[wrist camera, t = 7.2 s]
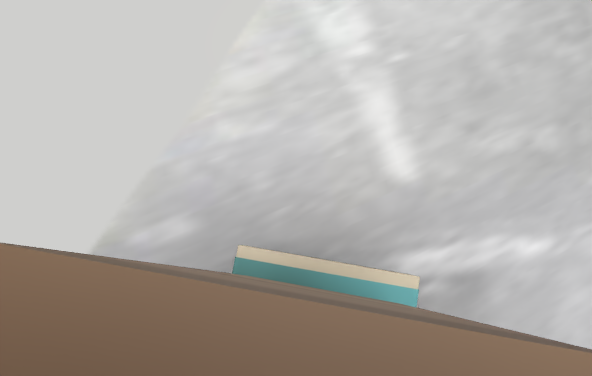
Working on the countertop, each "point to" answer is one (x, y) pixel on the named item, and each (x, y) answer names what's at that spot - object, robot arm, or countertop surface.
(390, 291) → the seesaw beam
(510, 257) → the countertop surface
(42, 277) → the column
